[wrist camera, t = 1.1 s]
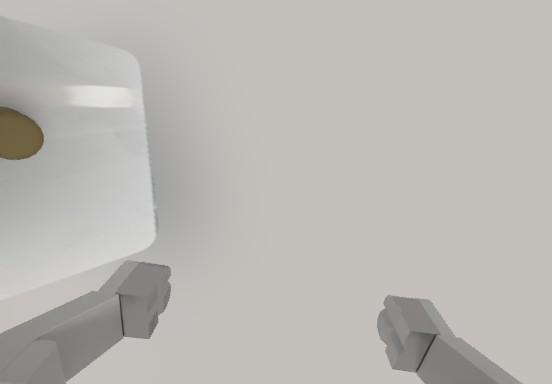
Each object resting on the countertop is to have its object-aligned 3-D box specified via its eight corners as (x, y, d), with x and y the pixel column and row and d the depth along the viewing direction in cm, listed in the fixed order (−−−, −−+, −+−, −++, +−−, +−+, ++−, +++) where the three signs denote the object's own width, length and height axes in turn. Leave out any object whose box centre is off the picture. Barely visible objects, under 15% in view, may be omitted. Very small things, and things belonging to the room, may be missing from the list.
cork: (1, 97, 34) (11, 95, 27) (46, 134, 38) (65, 140, 31) (-48, 126, 32) (-50, 132, 25) (5, 162, 36) (16, 176, 29)
